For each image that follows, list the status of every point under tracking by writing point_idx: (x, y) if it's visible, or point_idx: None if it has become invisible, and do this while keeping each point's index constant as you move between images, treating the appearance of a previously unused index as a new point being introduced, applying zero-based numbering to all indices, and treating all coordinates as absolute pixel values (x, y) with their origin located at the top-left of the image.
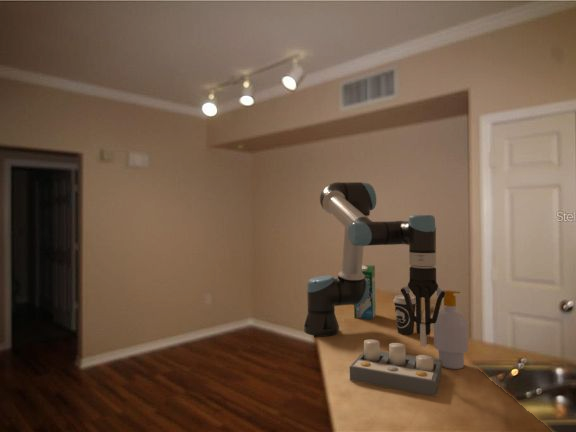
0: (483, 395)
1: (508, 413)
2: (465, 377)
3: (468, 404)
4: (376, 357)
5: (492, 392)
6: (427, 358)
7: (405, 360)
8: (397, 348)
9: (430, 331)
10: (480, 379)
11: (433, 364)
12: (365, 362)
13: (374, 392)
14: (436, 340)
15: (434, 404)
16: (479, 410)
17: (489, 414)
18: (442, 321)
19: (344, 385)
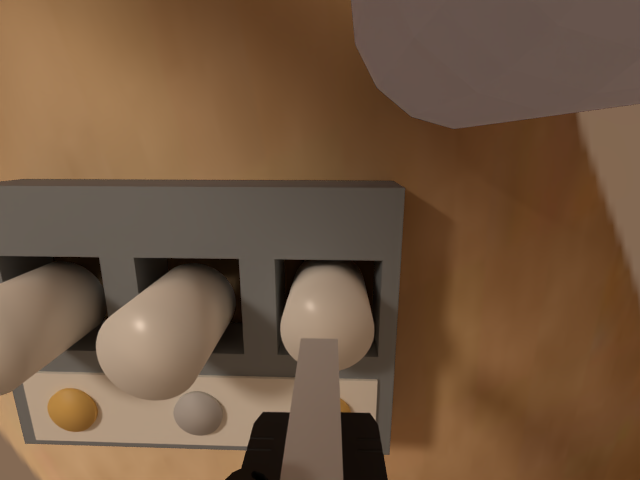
0: (551, 336)
1: (609, 432)
2: (498, 183)
3: (489, 421)
4: (82, 335)
5: (591, 296)
6: (343, 334)
7: (227, 311)
8: (167, 396)
9: (379, 432)
10: (565, 177)
11: (365, 259)
12: (64, 399)
13: (184, 455)
14: (382, 73)
15: None
16: (520, 446)
17: (547, 458)
18: (523, 67)
19: (73, 446)
